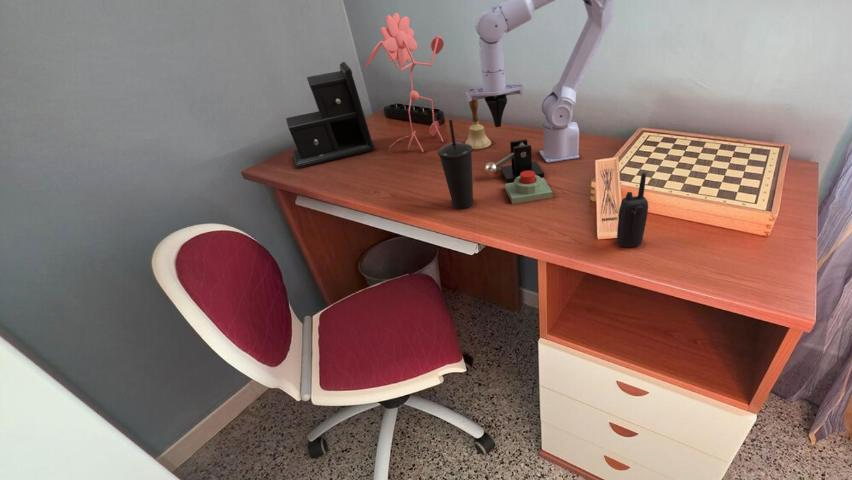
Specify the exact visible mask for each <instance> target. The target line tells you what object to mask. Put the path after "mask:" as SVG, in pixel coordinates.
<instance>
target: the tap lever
mask: <svg viewBox="0 0 852 480" xmlns="http://www.w3.org/2000/svg"><path fill="white" fill-rule="evenodd" d="M517 146H524V144H523V142H522V143H520V144H519V145H517ZM517 146H516V147H517ZM513 158H514V152H513V153H511V152H510V154H508V155H506V156H505V157H503V158H502V159H500V160H499V161H497V162H493V161H489V162H487V163H486V164H484V167H483V168H484V169H483V170H484V174H485V175H486V176H487V177H492V178H493V177H495V176H496V175H497V174H498V172H499V169H500V167H502V166H505V165H506V164H507V163H508V162H510V161H511V159H513Z"/></svg>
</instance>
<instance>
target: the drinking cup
mask: <svg viewBox="0 0 852 480" xmlns="http://www.w3.org/2000/svg"><path fill="white" fill-rule="evenodd" d="M448 123H449V131H450V137H451V142H450V143H446V144H445V145H442V146H441V147H439V148H438V150H437V155H438V156H439V158H440V161H441V165H442V170H443V173H444V176H445V180H446V183H447V189H448V191H449V195H450V199H451V203H452V206H453V208H454V209H456V210H461V211H462V210H467V209H470V208H471V207H473V205H474V189H473V187H474V186H473V185H474V184H473V160H472V159H473V158H472V157H473V156H472V153H473V149H472V146H471V145H469V144H465V142H460V141H456V135H455V130H454V125H453V123H454V122H453V120H452V119H449V120H448Z"/></svg>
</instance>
